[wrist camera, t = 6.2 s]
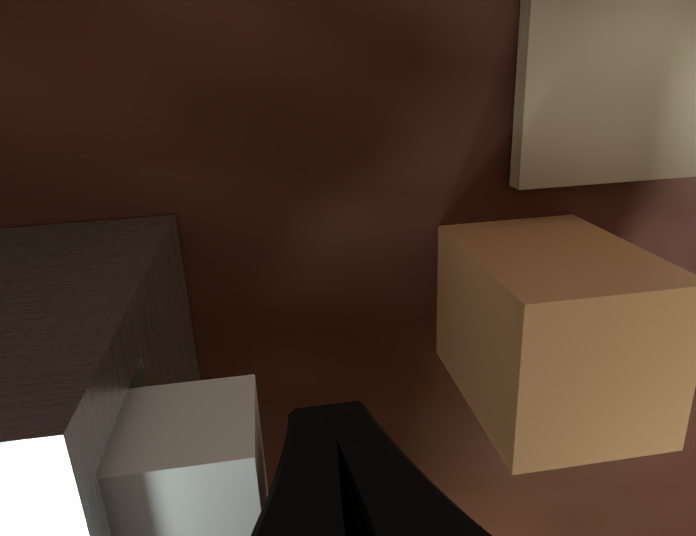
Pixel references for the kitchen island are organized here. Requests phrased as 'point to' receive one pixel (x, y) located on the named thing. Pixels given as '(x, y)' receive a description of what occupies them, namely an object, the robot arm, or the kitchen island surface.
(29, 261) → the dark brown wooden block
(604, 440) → the tan rectangular block
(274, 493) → the robot arm
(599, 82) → the pad
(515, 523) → the kitchen island surface
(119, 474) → the white long bar
